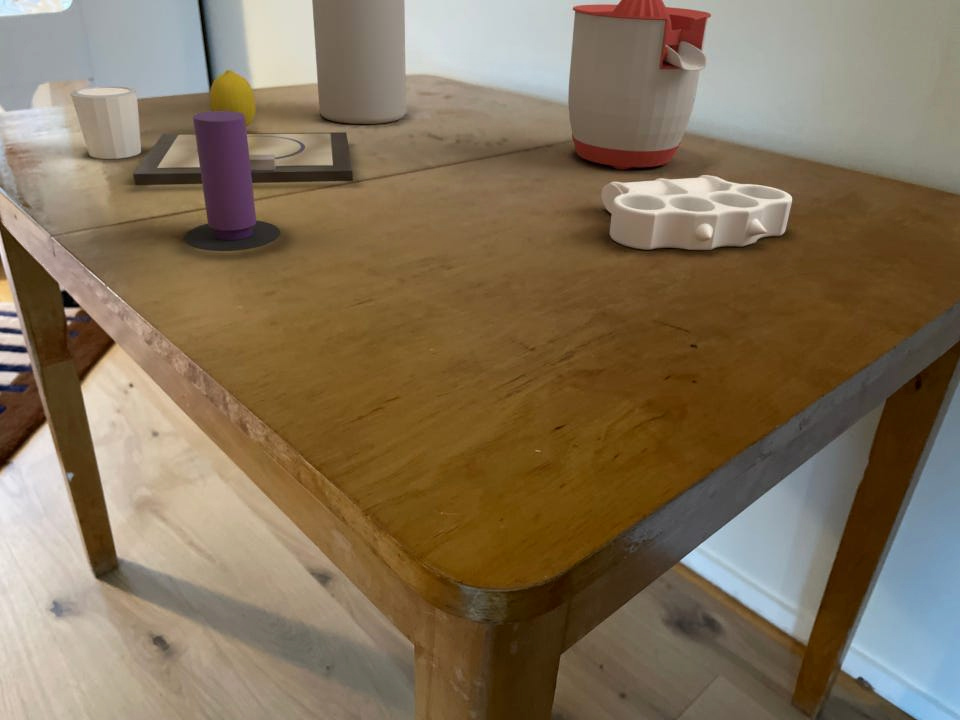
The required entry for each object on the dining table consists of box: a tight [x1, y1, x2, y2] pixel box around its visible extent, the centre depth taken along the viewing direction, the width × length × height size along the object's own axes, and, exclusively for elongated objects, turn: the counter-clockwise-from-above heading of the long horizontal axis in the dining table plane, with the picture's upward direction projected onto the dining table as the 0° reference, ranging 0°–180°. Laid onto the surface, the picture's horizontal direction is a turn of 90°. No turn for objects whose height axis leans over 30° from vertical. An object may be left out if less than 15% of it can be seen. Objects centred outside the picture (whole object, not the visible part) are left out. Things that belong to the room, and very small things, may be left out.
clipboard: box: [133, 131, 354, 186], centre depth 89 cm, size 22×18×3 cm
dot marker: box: [192, 111, 257, 240], centre depth 65 cm, size 4×4×10 cm
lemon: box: [209, 69, 256, 128], centre depth 100 cm, size 6×6×8 cm
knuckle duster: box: [600, 174, 793, 251], centre depth 74 cm, size 3×18×15 cm
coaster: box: [183, 219, 281, 252], centre depth 68 cm, size 8×8×1 cm
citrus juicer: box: [567, 0, 712, 170], centre depth 92 cm, size 16×17×20 cm
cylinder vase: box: [311, 0, 407, 125], centre depth 108 cm, size 12×12×25 cm
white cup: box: [70, 86, 142, 160], centre depth 90 cm, size 7×7×7 cm
